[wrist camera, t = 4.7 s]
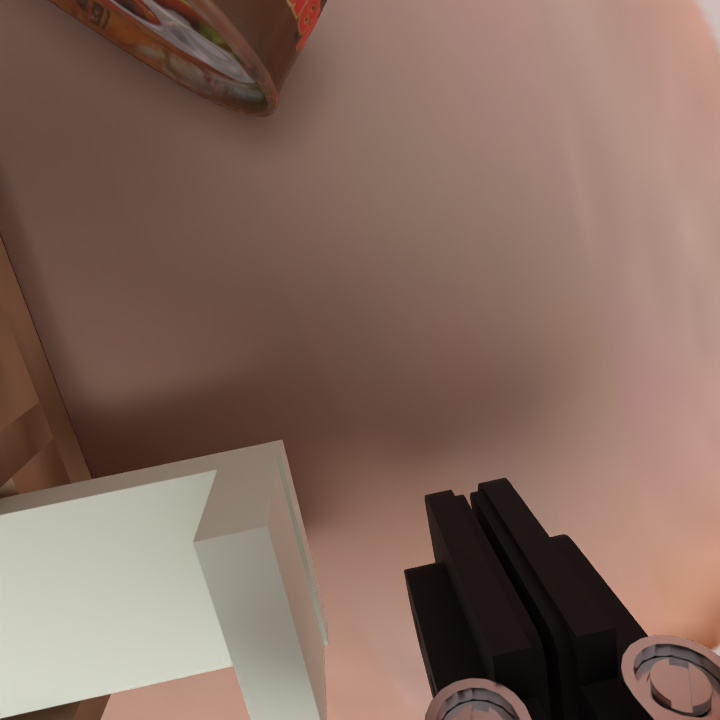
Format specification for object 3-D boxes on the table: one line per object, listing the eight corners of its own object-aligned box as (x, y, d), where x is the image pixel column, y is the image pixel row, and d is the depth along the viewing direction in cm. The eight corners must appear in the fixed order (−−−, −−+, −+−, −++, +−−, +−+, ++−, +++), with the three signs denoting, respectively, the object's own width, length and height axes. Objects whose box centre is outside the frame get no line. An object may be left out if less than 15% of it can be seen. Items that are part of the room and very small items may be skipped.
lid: (-129, 525, 11) (-295, 647, 8) (282, 439, 11) (274, 524, 8) (-37, 699, 13) (-146, 858, 10) (326, 618, 13) (333, 746, 10)
